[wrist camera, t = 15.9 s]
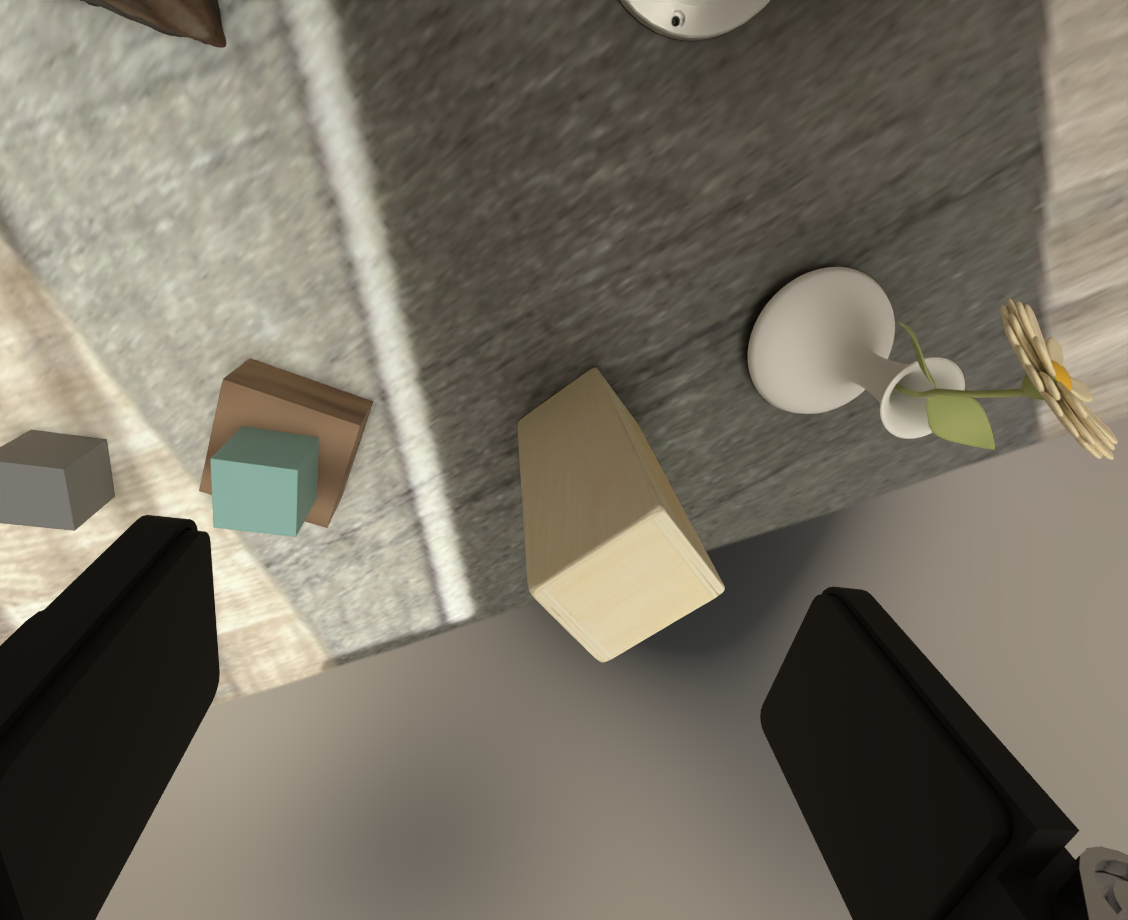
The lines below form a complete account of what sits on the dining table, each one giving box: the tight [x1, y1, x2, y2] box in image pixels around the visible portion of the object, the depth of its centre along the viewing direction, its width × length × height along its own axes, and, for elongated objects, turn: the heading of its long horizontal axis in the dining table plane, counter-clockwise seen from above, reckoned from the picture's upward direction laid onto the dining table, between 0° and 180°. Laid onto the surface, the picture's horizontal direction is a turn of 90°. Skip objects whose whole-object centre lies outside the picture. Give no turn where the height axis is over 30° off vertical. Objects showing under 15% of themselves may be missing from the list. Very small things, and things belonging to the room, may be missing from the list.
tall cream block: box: [517, 367, 725, 662], centre depth 38 cm, size 8×7×21 cm
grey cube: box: [0, 430, 115, 531], centre depth 42 cm, size 5×5×5 cm
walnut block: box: [199, 358, 373, 528], centre depth 43 cm, size 9×9×5 cm
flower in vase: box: [748, 267, 1118, 460], centre depth 35 cm, size 13×11×25 cm
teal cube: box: [211, 426, 319, 537], centre depth 39 cm, size 5×5×5 cm
